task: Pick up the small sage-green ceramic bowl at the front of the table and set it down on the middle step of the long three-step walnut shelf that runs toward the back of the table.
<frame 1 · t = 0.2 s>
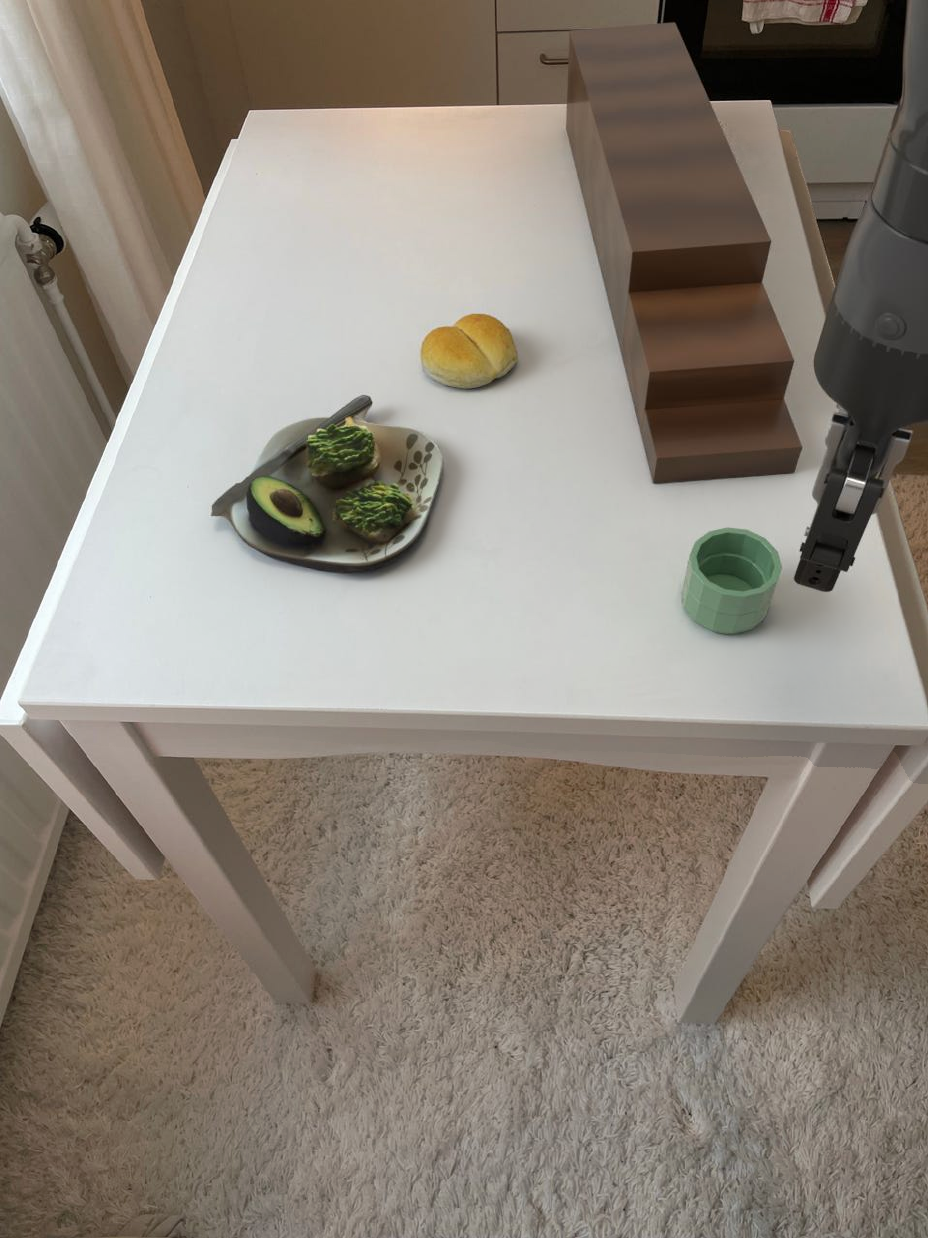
hand: (828, 531, 57), 15 cm above the table, tool pointing down, fingers open, 8 cm apart
bread roll: (470, 363, 91), on the table
shelf: (696, 389, 87), on the table
bowl: (723, 602, 73), on the table
salad plate: (336, 503, 81), on the table
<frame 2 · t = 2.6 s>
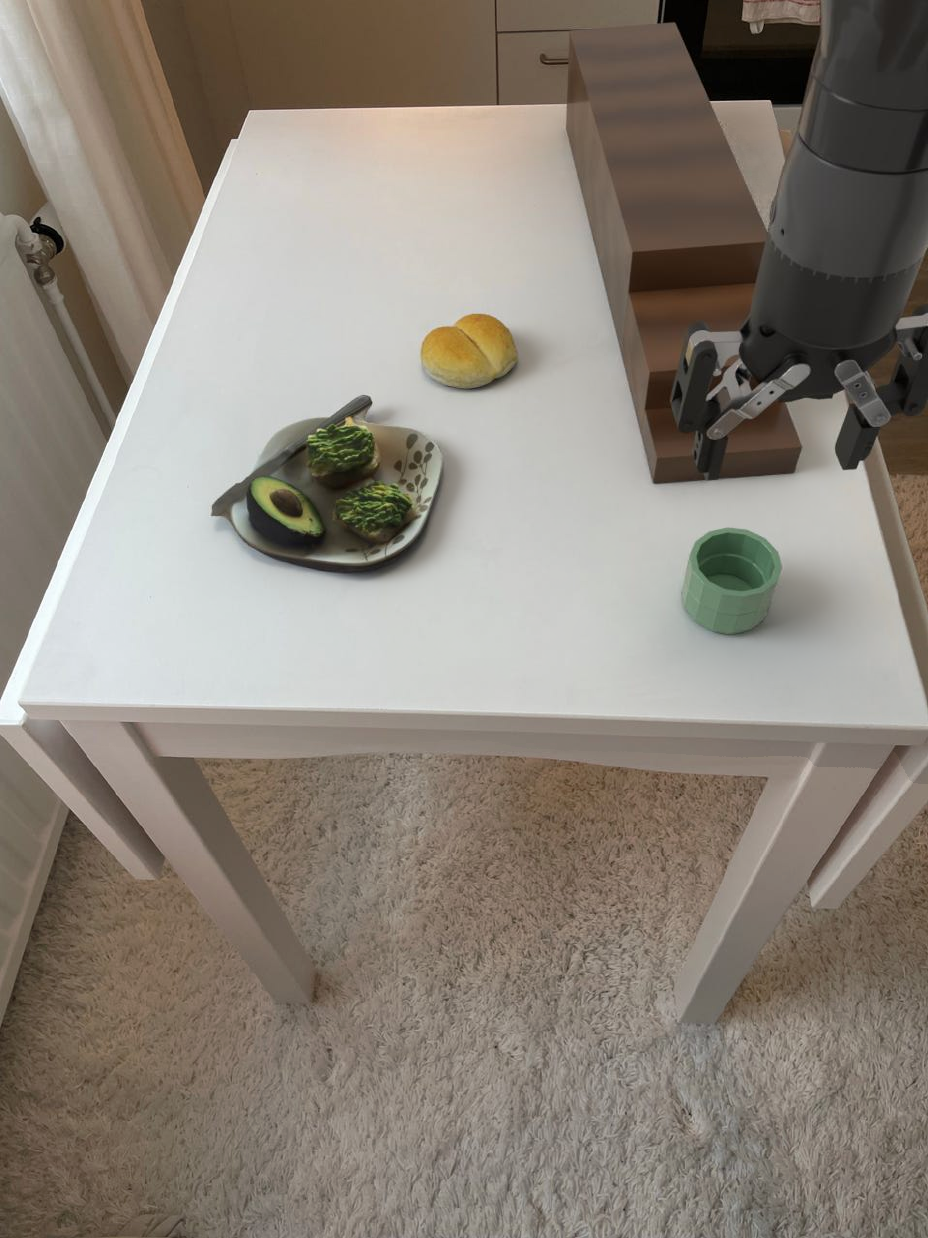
hand: (776, 465, 60), 16 cm above the table, tool pointing down, fingers open, 8 cm apart
nothing on the table moved.
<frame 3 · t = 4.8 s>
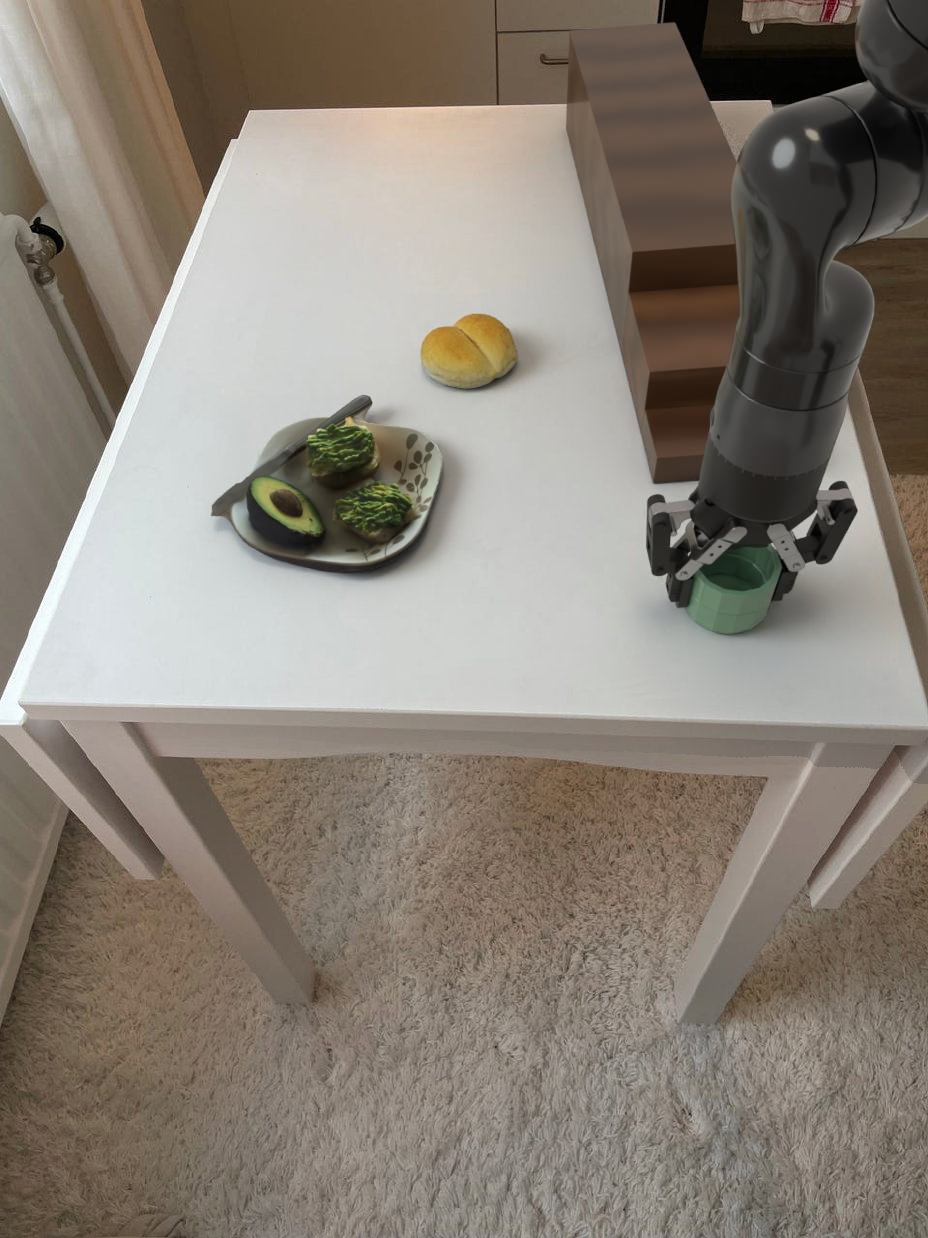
hand: (726, 595, 72), 1 cm above the table, tool pointing down, fingers closed on bowl, 6 cm apart
bowl: (723, 603, 73), on the table, touching gripper
everything else where it was.
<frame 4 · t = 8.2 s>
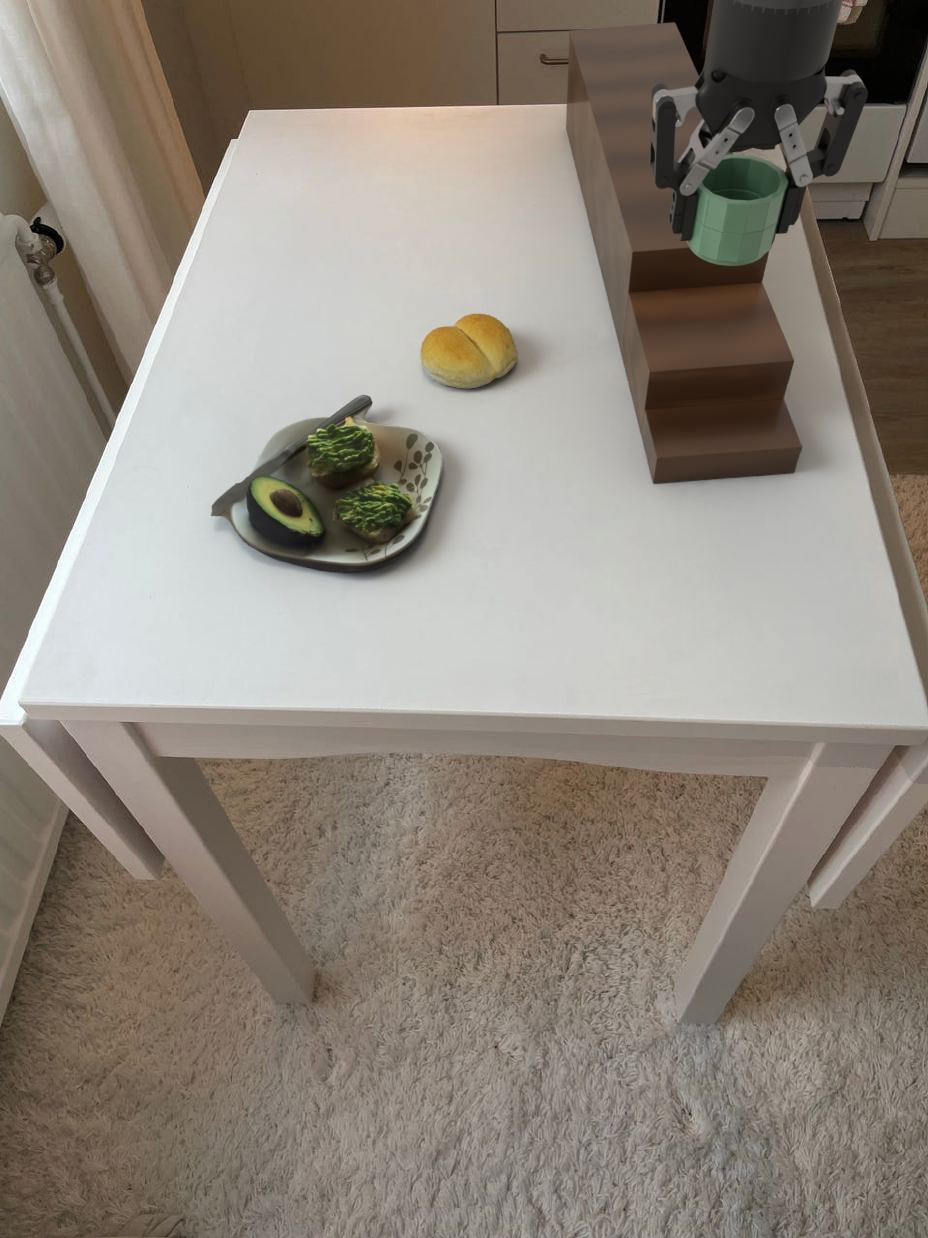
hand: (730, 230, 70), 18 cm above the table, tool pointing down, fingers closed on bowl, 6 cm apart
bowl: (727, 242, 71), point 17 cm above the table, touching gripper
everything else where it was.
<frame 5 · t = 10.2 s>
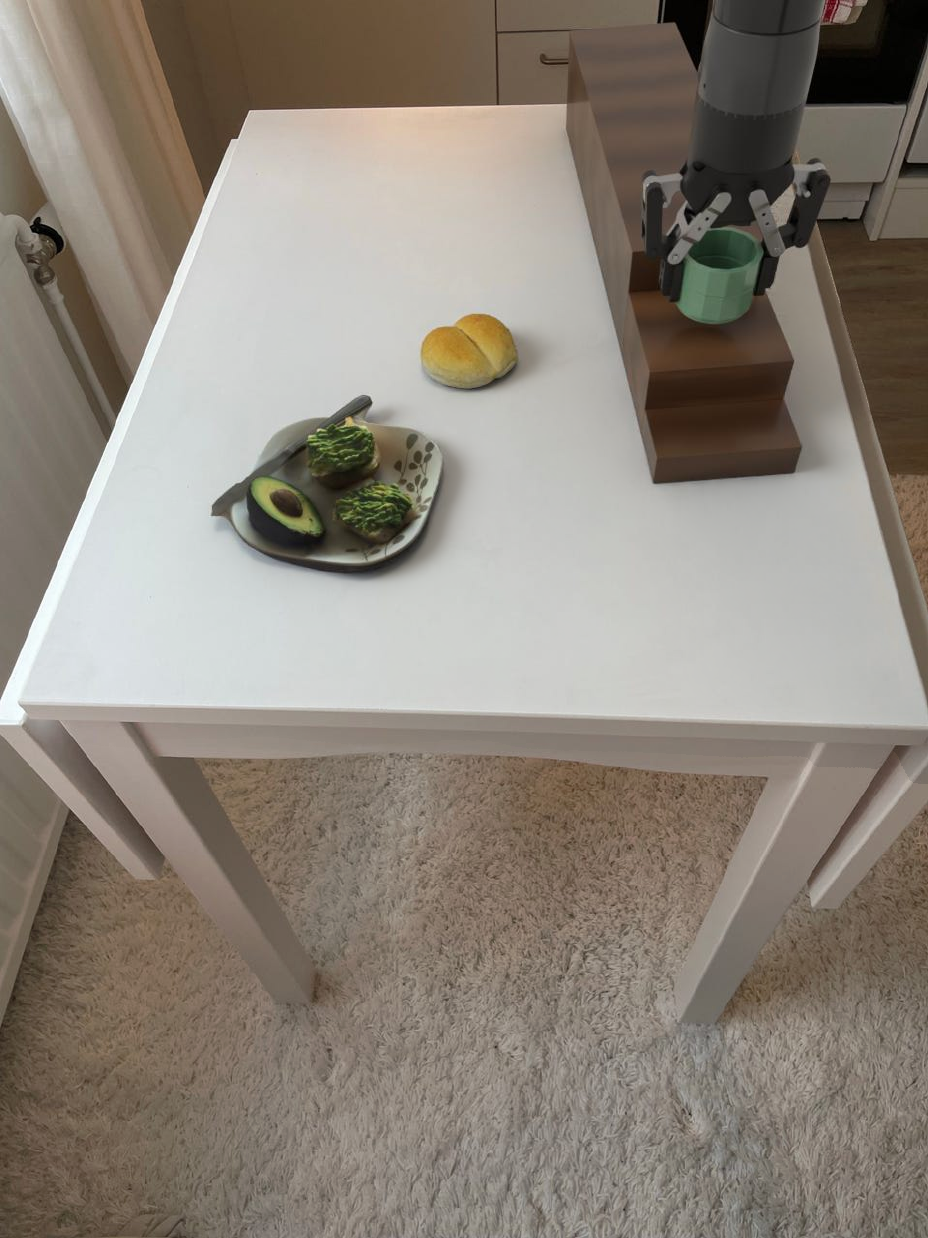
hand: (713, 292, 79), 10 cm above the table, tool pointing down, fingers closed on bowl, 6 cm apart
bowl: (711, 302, 80), point 9 cm above the table, touching gripper
everything else where it was.
when the fingers open (8 cm above the table, at t = 11.5 s): bowl stays where it is, resting on shelf.
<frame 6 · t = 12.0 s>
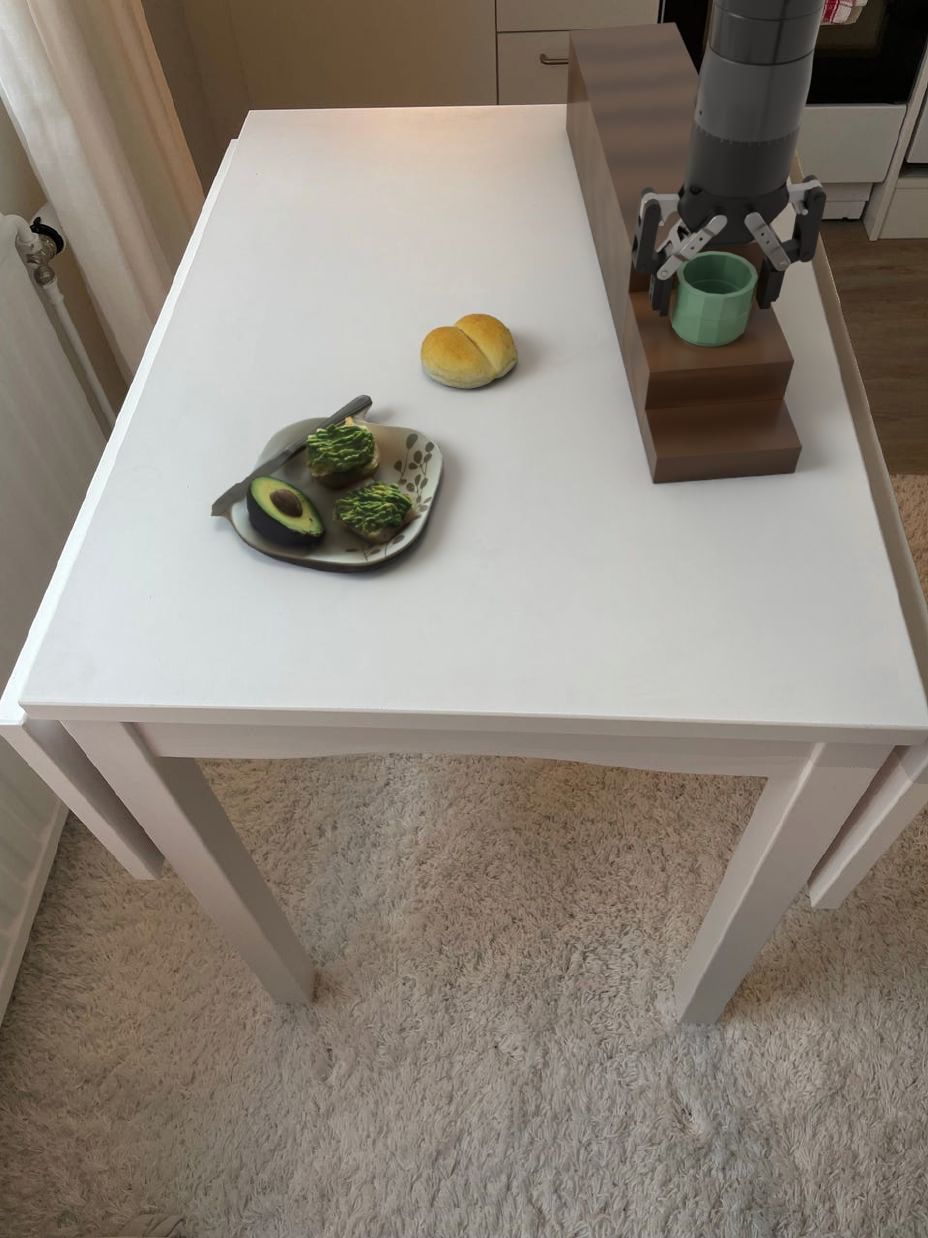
hand: (711, 307, 80), 9 cm above the table, tool pointing down, fingers open, 8 cm apart
bowl: (707, 325, 82), point 7 cm above the table, touching shelf
everything else where it was.
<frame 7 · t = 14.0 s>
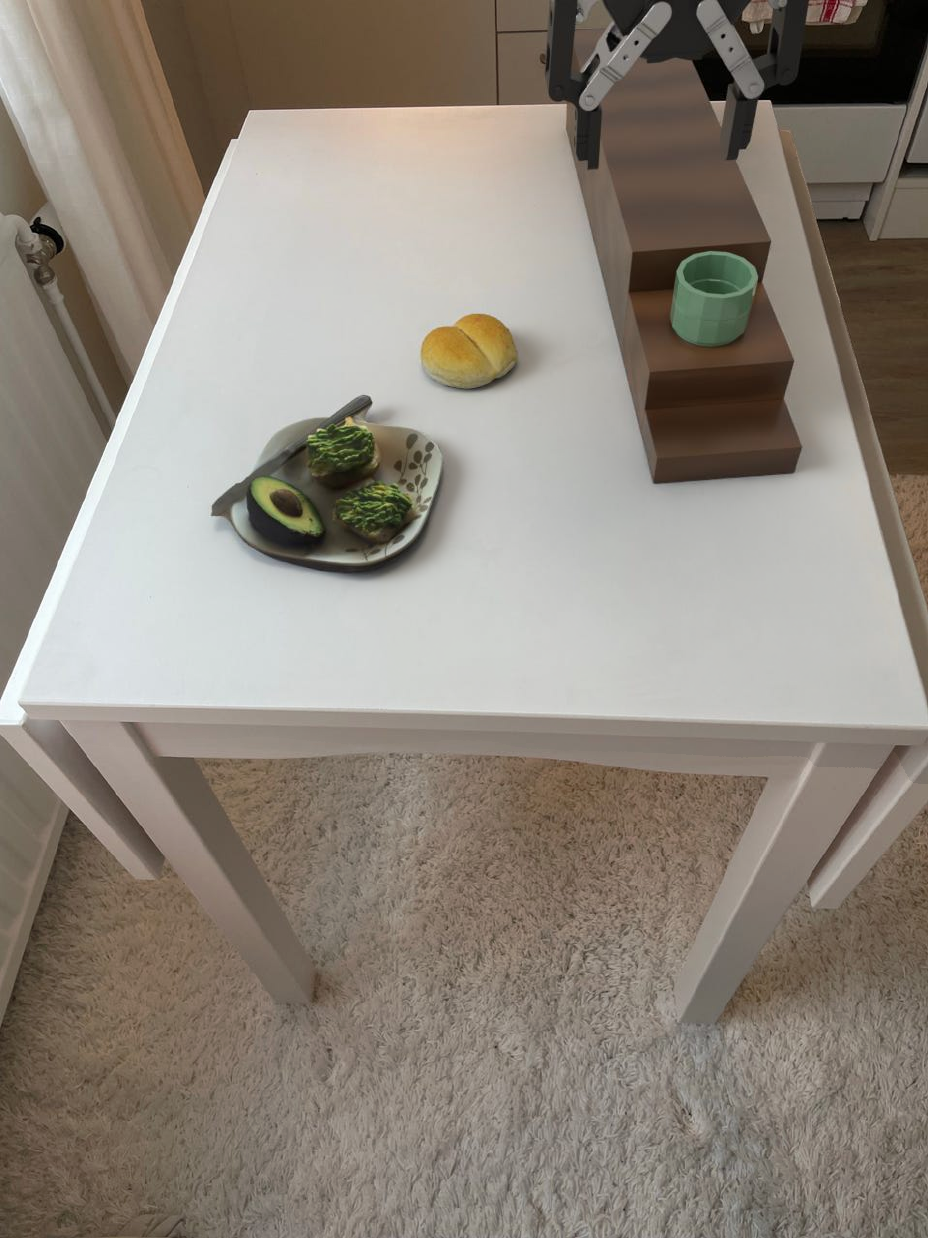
hand: (659, 158, 59), 28 cm above the table, tool pointing down, fingers open, 8 cm apart
nothing on the table moved.
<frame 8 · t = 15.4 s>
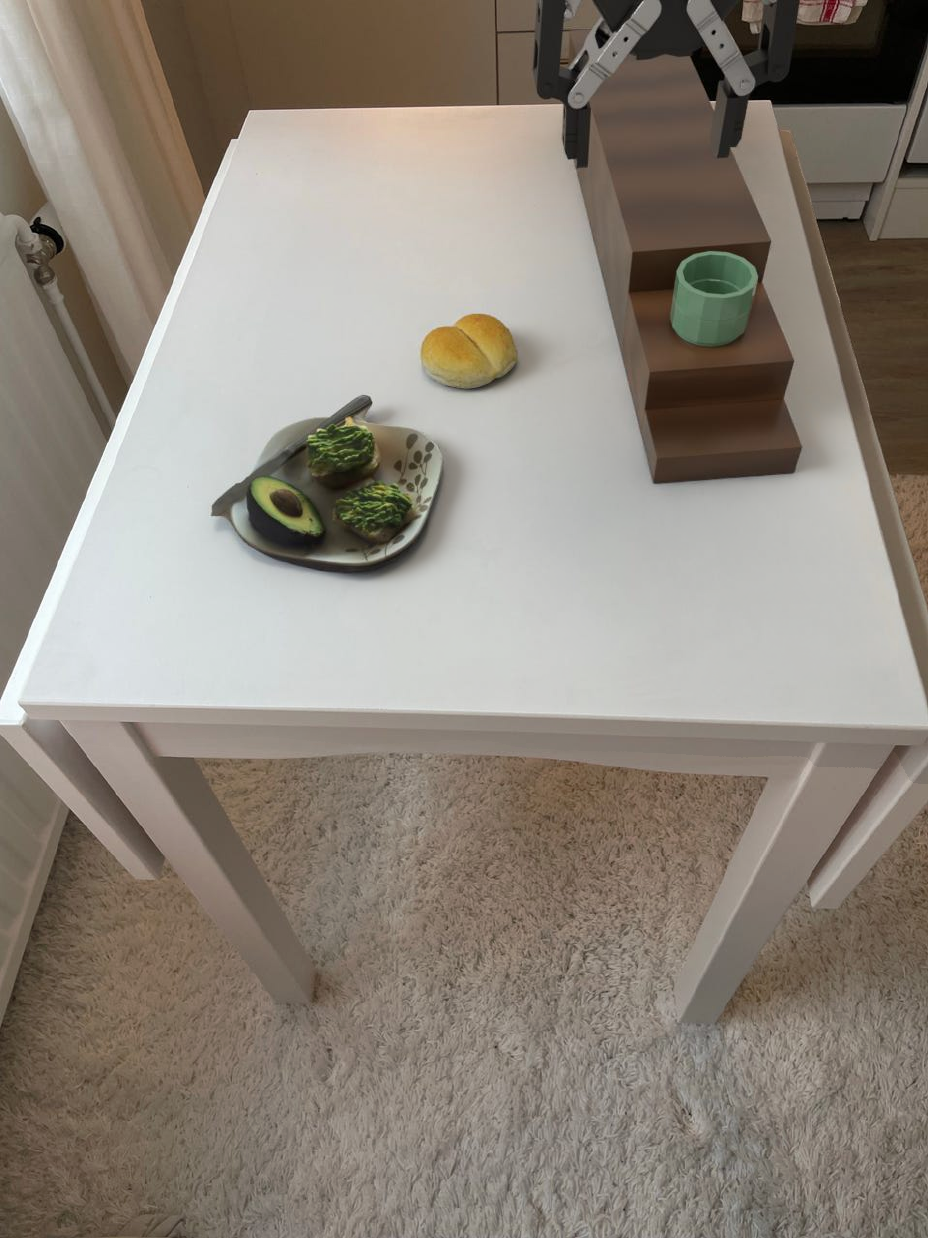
hand: (649, 156, 58), 28 cm above the table, tool pointing down, fingers open, 8 cm apart
nothing on the table moved.
at the end: bowl inside the target area on the shelf (0.0 cm from its centre), point 7.0 cm above the shelf's base; bowl tilted 0°; the gripper is holding nothing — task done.
